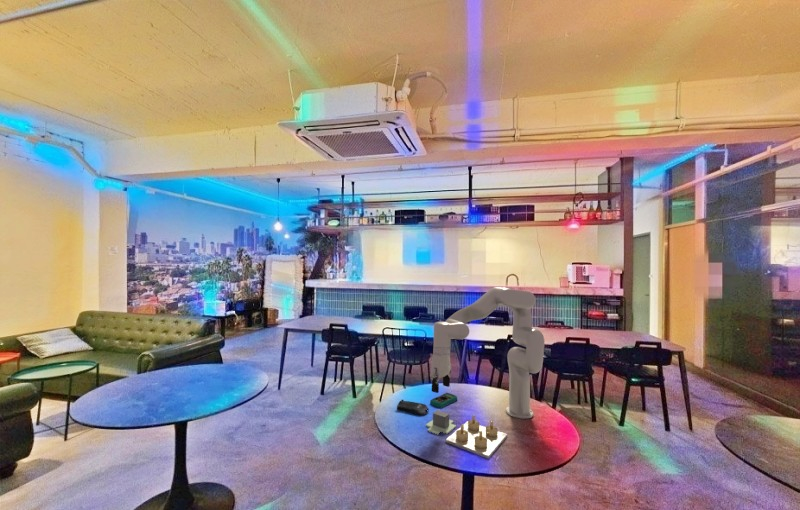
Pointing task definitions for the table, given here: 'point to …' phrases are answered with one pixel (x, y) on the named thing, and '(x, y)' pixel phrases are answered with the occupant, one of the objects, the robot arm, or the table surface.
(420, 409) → the electronic device
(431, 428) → the board
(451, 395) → the digital multimeter
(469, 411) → the table surface
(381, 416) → the table surface
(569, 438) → the table surface
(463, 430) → the chassis
